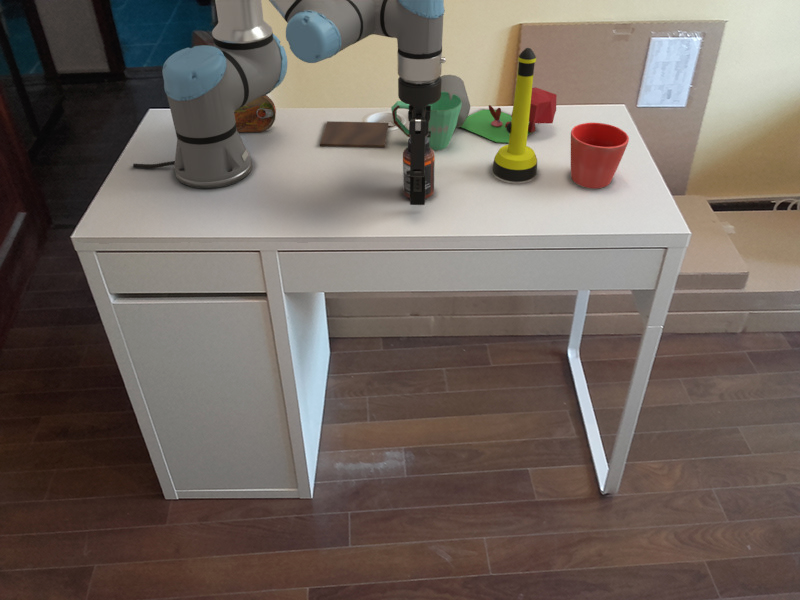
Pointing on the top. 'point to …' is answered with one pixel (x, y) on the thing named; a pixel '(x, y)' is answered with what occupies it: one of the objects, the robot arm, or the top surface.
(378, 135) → the placemat
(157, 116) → the top surface
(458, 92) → the cup
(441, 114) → the mug
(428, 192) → the supplement bottle
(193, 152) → the robot arm
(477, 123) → the red green faceted piece
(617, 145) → the flower pot
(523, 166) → the flashlight
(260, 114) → the tin
